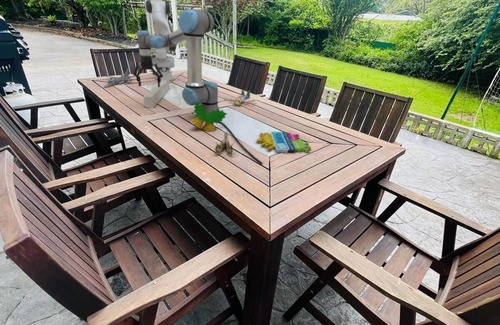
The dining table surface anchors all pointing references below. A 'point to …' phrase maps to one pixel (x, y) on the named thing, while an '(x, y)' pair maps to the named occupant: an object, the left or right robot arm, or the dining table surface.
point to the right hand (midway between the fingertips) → (149, 86)
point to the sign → (283, 142)
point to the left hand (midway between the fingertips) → (163, 72)
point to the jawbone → (224, 145)
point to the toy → (241, 99)
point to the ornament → (207, 117)
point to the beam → (156, 93)
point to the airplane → (119, 79)
